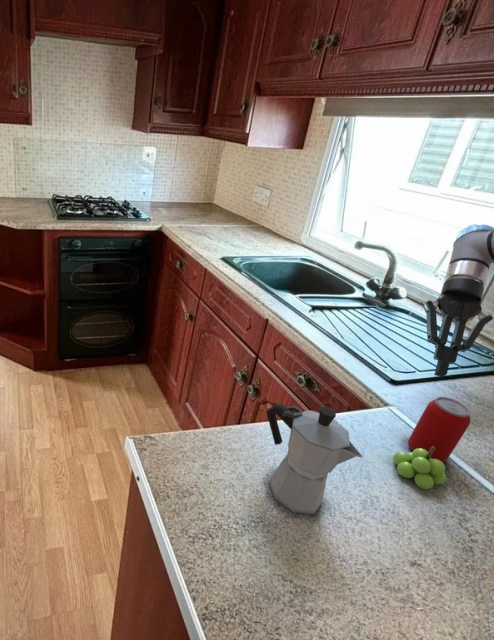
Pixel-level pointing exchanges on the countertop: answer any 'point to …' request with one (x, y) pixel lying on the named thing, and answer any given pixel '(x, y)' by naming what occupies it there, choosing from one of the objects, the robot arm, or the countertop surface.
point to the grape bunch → (420, 467)
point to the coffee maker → (307, 455)
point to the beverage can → (440, 427)
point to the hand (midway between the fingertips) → (440, 374)
